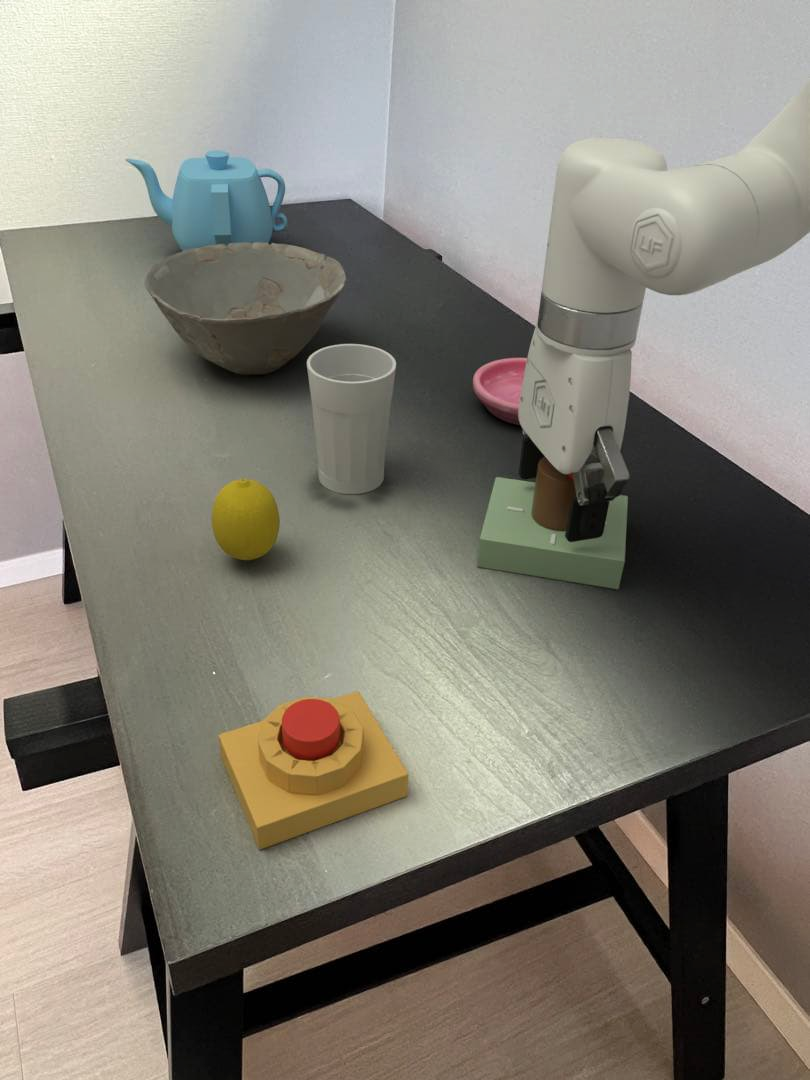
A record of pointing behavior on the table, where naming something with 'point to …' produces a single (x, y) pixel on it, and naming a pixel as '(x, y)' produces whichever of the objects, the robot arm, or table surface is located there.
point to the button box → (311, 773)
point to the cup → (351, 414)
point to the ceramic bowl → (246, 301)
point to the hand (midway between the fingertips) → (558, 505)
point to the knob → (553, 496)
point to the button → (311, 729)
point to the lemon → (245, 519)
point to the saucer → (501, 387)
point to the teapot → (216, 201)
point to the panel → (549, 540)
